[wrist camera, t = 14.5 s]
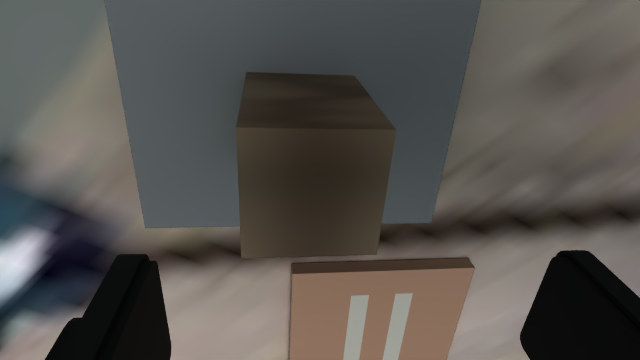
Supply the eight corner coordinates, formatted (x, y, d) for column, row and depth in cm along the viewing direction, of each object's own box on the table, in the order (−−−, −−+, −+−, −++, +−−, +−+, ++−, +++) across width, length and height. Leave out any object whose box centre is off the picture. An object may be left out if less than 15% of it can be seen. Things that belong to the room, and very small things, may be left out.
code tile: (468, 257, 27) (475, 268, 26) (434, 373, 33) (438, 384, 32) (291, 263, 26) (292, 274, 25) (287, 383, 31) (288, 395, 30)
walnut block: (354, 75, 19) (396, 129, 13) (344, 170, 21) (376, 254, 15) (246, 71, 18) (235, 127, 12) (248, 170, 21) (241, 258, 14)
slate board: (466, -4, 19) (481, -1, 18) (422, 209, 25) (431, 222, 23) (112, -24, 17) (99, -23, 16) (152, 212, 23) (145, 228, 21)
